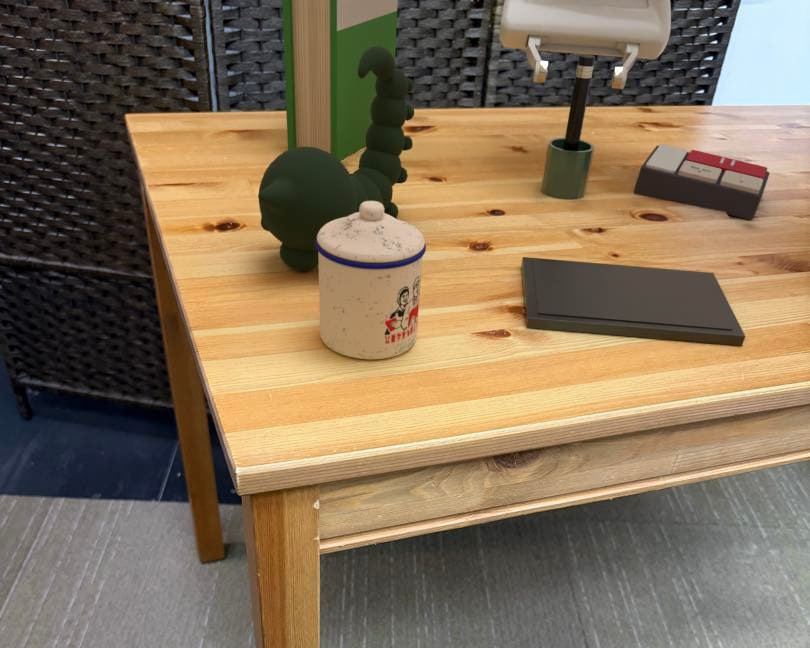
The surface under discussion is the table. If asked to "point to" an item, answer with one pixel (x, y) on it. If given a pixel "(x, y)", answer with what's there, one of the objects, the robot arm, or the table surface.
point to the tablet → (627, 301)
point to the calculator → (702, 180)
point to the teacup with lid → (369, 283)
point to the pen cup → (566, 170)
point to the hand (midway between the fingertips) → (579, 82)
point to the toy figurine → (338, 171)
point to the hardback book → (332, 70)
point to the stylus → (579, 102)
